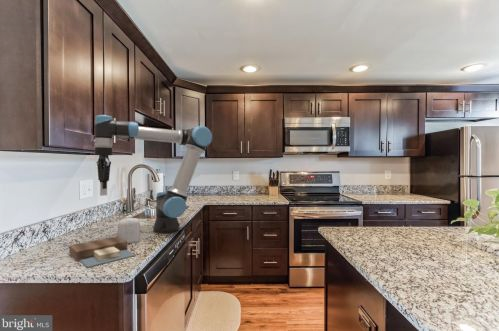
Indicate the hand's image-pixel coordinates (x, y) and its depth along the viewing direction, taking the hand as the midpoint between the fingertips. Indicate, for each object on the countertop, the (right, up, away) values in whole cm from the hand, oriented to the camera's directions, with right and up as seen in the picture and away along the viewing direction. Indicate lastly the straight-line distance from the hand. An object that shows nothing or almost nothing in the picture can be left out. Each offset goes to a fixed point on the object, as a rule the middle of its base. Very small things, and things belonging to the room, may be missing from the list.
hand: (103, 195), depth 129 cm
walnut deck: (+4, -25, -10) cm, 27 cm away
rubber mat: (+12, -25, -18) cm, 33 cm away
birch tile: (+11, -24, -17) cm, 32 cm away
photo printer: (+11, -25, +4) cm, 27 cm away
